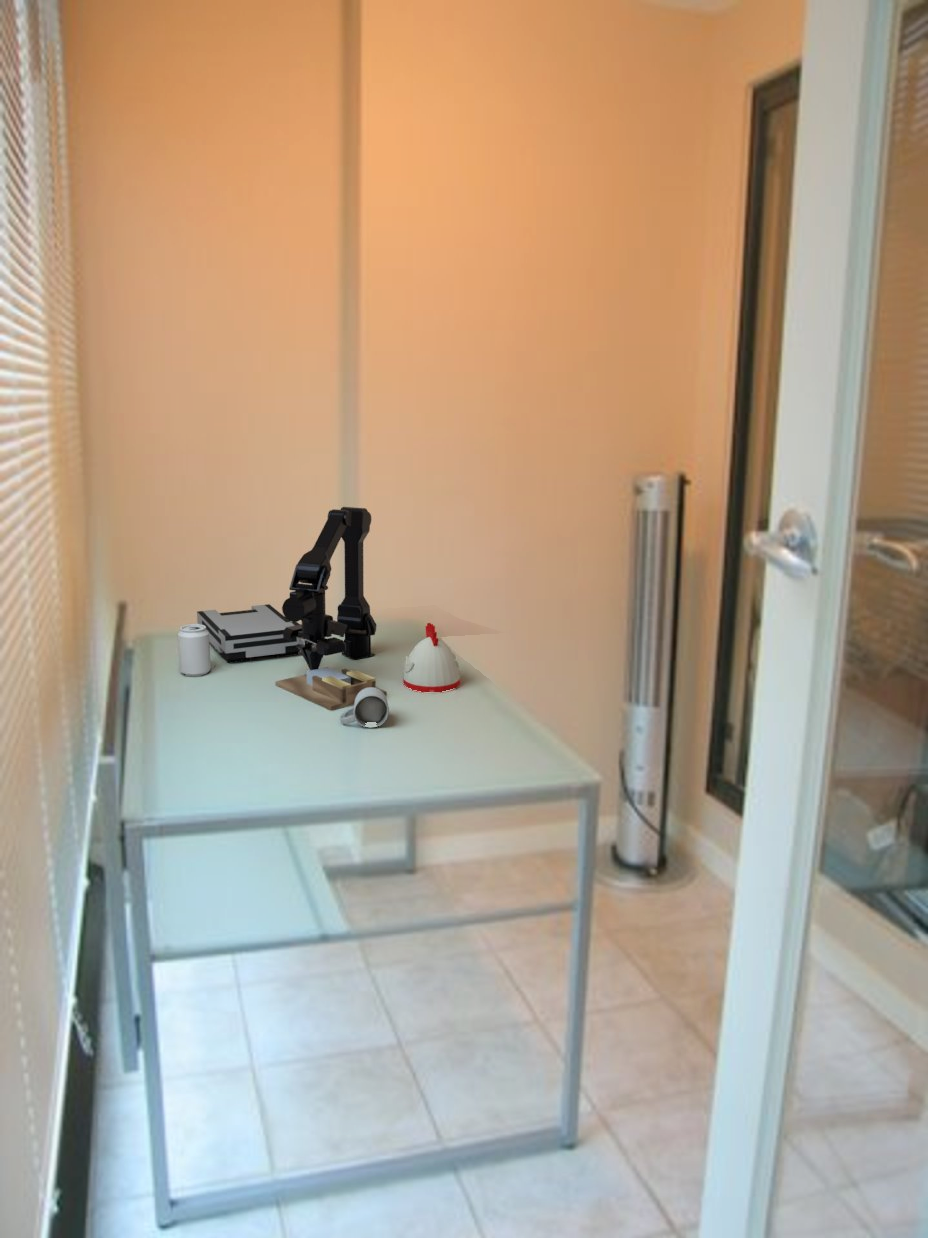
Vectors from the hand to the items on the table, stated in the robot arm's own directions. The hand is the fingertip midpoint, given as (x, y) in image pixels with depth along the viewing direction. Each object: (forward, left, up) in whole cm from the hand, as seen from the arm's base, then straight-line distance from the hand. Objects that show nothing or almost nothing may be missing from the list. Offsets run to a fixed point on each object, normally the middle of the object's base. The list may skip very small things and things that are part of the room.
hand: (314, 673), depth 255 cm
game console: (-5, -39, -3) cm, 39 cm away
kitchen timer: (-22, +18, -3) cm, 29 cm away
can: (+18, -26, -3) cm, 32 cm away
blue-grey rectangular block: (0, +6, -2) cm, 6 cm away
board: (0, +6, -3) cm, 7 cm away
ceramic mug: (+7, +29, -3) cm, 30 cm away
